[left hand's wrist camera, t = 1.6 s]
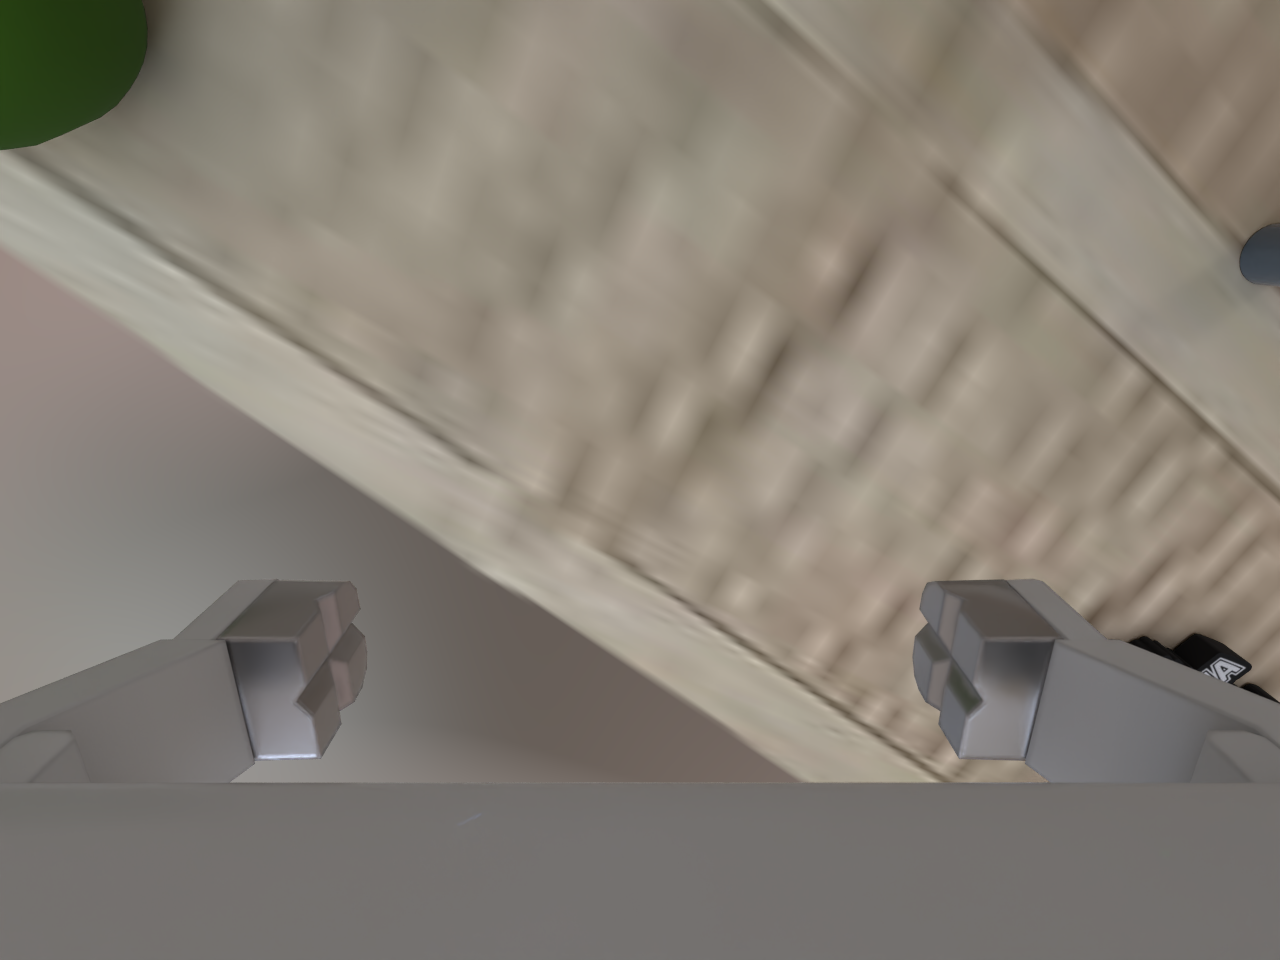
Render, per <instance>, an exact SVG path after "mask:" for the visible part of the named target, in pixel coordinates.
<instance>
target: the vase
mask: <svg viewBox="0 0 1280 960" xmlns="http://www.w3.org/2000/svg"><path fill="white" fill-rule="evenodd" d="M146 49H147V22H146V16H145V9H144V6H143V3H142V0H0V150H6V149H14V148H21V147H28V146H35V145H38V144H41V143H43V142H46V141H48V140H51V139H53V138H55V137H58V136H60V135H63V134H65V133H67V132H69V131H71V130H74V129H76V128H78V127H80V126H82V125H85V124H87V123H89V122H91V121H93V120H96V119H98V118H100V117H102V116H103V115H104V114H106V113H107V112H108V111H110V110H111V109H112V108H114V107H115V106H116V105H117V104H118V103H119V102H120V101H121V99H122V98H123V97H124V96H125V94H126V93H127V92H128V91H129V89H130V88H131V86H132V84H133V83H134V81H135V79H136V78H137V76H138V73H139V71H140V69H141V67H142V65H143V62H144V58H145V53H146Z"/></svg>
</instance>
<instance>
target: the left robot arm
mask: <svg viewBox="0 0 1280 960" xmlns="http://www.w3.org/2000/svg"><path fill="white" fill-rule="evenodd" d="M359 611H360V604H359V599H358V594H357V589H356V587H355V586H354V585H353V584H352V583H351V582H350V581H323V580H278V579H258V580H240V581H237V582H236V583H235V584H234V585H233V586H232V587H231V588H229V589H228V590H227V591H226V592H225V593H224V594H223V595H222V596H221V597H219V598H218V599H217V600H216V601H215V602H214V603H213V604H212V605H211V606H209V607H208V608H207V609H206V610H205V611H204V612H203V613H202V614H201V615H200V616H198V617H197V618H196V619H195V620H194V621H193V622H192V623H190V624H189V625H188V626H187V627H186V628H185V629H184V630H183V631H182V632H180V633H179V634H178V635H177V636H176V637H175V638H174V639H173V640H159V641H156V642H154V643H151V644H149V645H146V646H144V647H141V648H139V649H136V650H134V651H131V652H129V653H126V654H123V655H121V656H118V657H116V658H113V659H111V660H108V661H106V662H103V663H101V664H98V665H96V666H93V667H91V668H88V669H86V670H83V671H81V672H78V673H76V674H73V675H71V676H68V677H66V678H63V679H61V680H58V681H56V682H53V683H51V684H48V685H46V686H43V687H41V688H38V689H35V690H33V691H30V692H28V693H25V694H23V695H20V696H18V697H15V698H13V699H10V700H8V701H5V702H3V703H0V960H1280V704H1279V703H1277V702H1274V701H1272V700H1269V699H1267V698H1264V697H1262V696H1259V695H1257V694H1254V693H1252V692H1249V691H1247V690H1244V689H1242V688H1239V687H1237V686H1234V685H1232V684H1229V683H1227V682H1224V681H1222V680H1219V679H1217V678H1214V677H1212V676H1209V675H1207V674H1204V673H1202V672H1199V671H1197V670H1194V669H1192V668H1189V667H1187V666H1184V665H1182V664H1179V663H1177V662H1174V661H1172V660H1169V659H1166V658H1164V657H1161V656H1159V655H1156V654H1154V653H1151V652H1149V651H1146V650H1144V649H1141V648H1139V647H1136V646H1134V645H1131V644H1129V643H1126V642H1124V641H1121V640H1107V639H1106V638H1105V637H1104V636H1103V635H1102V634H1101V633H1100V632H1098V631H1097V630H1096V629H1095V628H1094V627H1093V626H1092V625H1091V624H1090V623H1089V622H1087V621H1086V620H1085V619H1084V618H1083V617H1082V616H1081V615H1080V614H1079V613H1077V612H1076V611H1075V610H1074V609H1073V608H1072V607H1071V606H1070V605H1069V604H1067V603H1066V602H1065V601H1064V600H1063V599H1062V598H1061V597H1060V596H1059V595H1057V594H1056V593H1055V592H1054V591H1053V590H1052V589H1051V588H1050V587H1049V586H1047V585H1046V584H1045V583H1044V582H1043V581H1040V580H1036V579H1017V580H962V581H934V582H928V583H927V584H926V586H925V588H924V591H923V593H922V597H921V603H920V611H921V612H922V614H923V615H924V617H925V618H926V620H927V622H928V623H927V624H926V625H925V626H924V628H923V629H922V630H921V631H920V632H919V633H918V634H917V635H916V636H915V641H914V649H913V666H914V676H915V679H916V683H917V686H918V689H919V691H920V693H921V695H922V696H923V698H924V700H925V702H926V703H928V704H930V705H931V706H933V707H935V708H936V709H938V710H939V711H941V712H940V718H939V726H940V727H941V729H942V731H943V732H944V734H945V736H946V737H947V739H948V741H949V742H950V744H951V746H952V748H953V749H954V751H955V753H956V754H957V756H958V758H959V759H982V760H1019V761H1025V764H1026V765H1028V766H1029V767H1030V768H1032V769H1033V770H1034V771H1036V772H1037V773H1039V774H1040V775H1041V776H1043V777H1044V778H1045V779H1047V780H1048V781H1049V782H1051V783H230V782H231V781H232V780H233V779H235V778H236V777H238V776H239V775H240V774H242V773H243V772H244V771H246V770H247V769H248V768H250V767H251V766H253V765H254V764H255V762H254V761H261V760H295V759H321V758H322V756H323V754H324V753H325V751H326V749H327V748H328V746H329V744H330V742H331V741H332V739H333V737H334V736H335V734H336V732H337V731H338V729H339V727H340V726H341V718H340V712H339V711H341V710H342V709H344V708H345V707H347V706H349V705H350V704H352V703H353V702H355V700H356V698H357V696H358V694H359V693H360V691H361V689H362V686H363V682H364V678H365V674H366V670H367V647H366V641H365V636H364V635H363V634H362V633H361V632H360V631H359V630H358V629H357V628H356V627H355V625H354V624H353V623H352V622H353V620H354V618H355V617H356V615H357V614H358V612H359Z"/></svg>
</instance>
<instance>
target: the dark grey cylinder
mask: <svg viewBox="0 0 1280 960" xmlns="http://www.w3.org/2000/svg"><path fill="white" fill-rule="evenodd" d="M1240 269H1241V272H1242V274H1243V276H1244V277H1245V278H1246V279H1247V280H1248V281H1250V282H1252V283H1254V284H1260V285H1269V286H1278V287H1280V224H1272V225H1269V226H1266V227H1264V228H1262V229H1260V230H1259V231H1258V232H1256V233H1255V234H1254V235H1253V236H1252V237H1251V238H1250V239H1249V240H1248V242H1247V243H1246V245H1245V246H1244V248H1243V251H1242V253H1241V257H1240Z"/></svg>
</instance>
